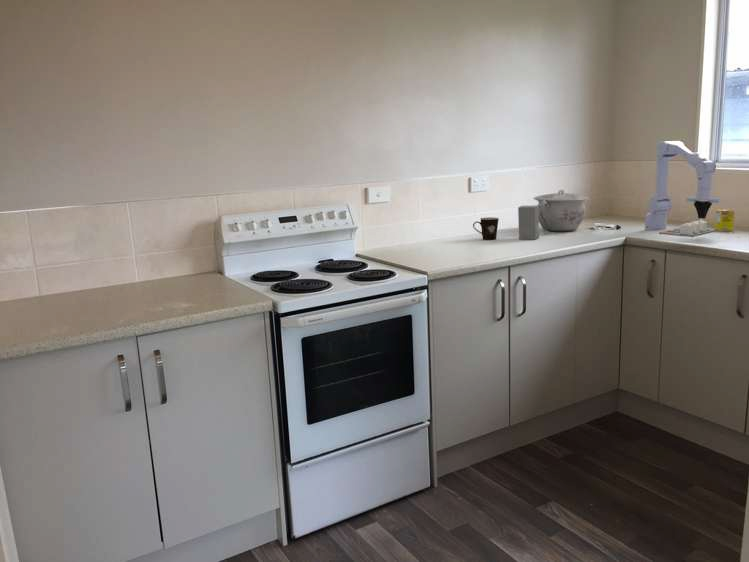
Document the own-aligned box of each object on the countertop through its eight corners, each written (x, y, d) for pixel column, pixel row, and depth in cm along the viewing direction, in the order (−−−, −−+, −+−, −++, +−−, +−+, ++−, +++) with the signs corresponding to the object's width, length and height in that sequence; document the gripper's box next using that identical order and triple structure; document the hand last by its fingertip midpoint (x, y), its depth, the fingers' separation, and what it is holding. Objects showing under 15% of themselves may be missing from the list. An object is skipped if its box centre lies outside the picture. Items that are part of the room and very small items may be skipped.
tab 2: (693, 231, 315) (694, 220, 314) (697, 230, 317) (698, 219, 316) (702, 231, 312) (703, 220, 311) (706, 230, 314) (707, 220, 313)
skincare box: (539, 238, 318) (539, 205, 315) (534, 240, 312) (535, 206, 309) (521, 237, 322) (522, 204, 319) (517, 239, 316) (517, 206, 313)
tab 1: (679, 234, 306) (680, 223, 305) (684, 233, 309) (684, 222, 308) (688, 235, 303) (689, 223, 302) (692, 234, 306) (693, 223, 305)
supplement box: (732, 233, 313) (734, 210, 311) (719, 234, 314) (721, 211, 311) (726, 232, 319) (728, 209, 317) (713, 232, 319) (715, 209, 317)
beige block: (687, 232, 311) (687, 221, 309) (691, 231, 313) (691, 220, 312) (695, 233, 308) (696, 222, 306) (699, 232, 310) (700, 221, 309)
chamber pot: (577, 225, 357) (578, 186, 352) (595, 232, 330) (597, 190, 325) (525, 227, 356) (526, 188, 352) (539, 234, 329) (540, 192, 325)
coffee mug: (499, 238, 322) (499, 217, 320) (496, 240, 314) (497, 219, 312) (475, 237, 326) (475, 217, 324) (472, 240, 318) (472, 219, 316)
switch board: (658, 236, 311) (659, 232, 311) (682, 231, 326) (683, 226, 326) (693, 240, 299) (693, 235, 299) (716, 233, 314) (716, 229, 314)
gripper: (683, 188, 299) (681, 218, 302) (716, 189, 289) (714, 220, 291) (691, 186, 304) (688, 216, 307) (723, 188, 293) (721, 218, 296)
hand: (701, 218), depth 299 cm, fingers closed
